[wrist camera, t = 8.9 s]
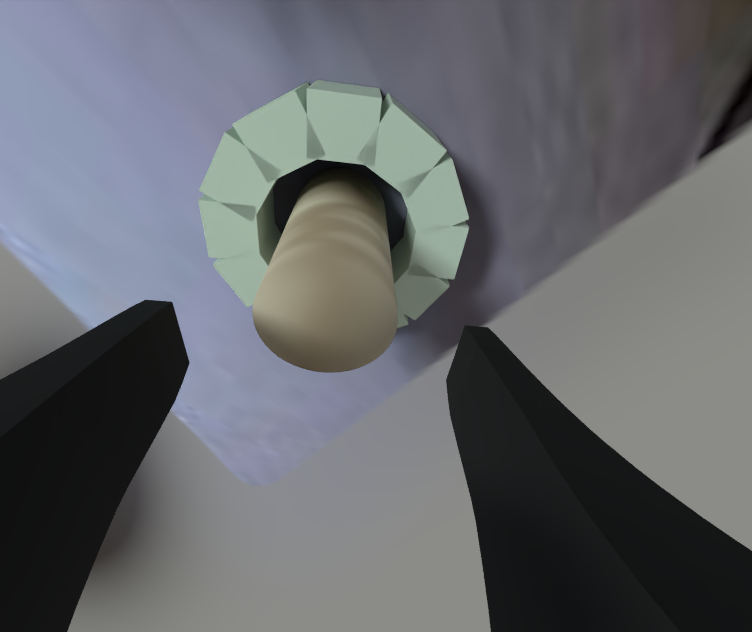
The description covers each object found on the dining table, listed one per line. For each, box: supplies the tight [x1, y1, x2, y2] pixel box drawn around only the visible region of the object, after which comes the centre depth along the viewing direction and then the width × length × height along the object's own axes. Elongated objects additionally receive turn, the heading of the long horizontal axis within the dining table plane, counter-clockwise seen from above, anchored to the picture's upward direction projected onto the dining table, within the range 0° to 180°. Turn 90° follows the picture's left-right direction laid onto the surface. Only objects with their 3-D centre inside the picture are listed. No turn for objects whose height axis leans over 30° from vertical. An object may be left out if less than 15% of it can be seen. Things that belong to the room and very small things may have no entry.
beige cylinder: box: [253, 168, 398, 372], centre depth 13 cm, size 4×4×8 cm
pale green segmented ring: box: [198, 80, 469, 328], centre depth 15 cm, size 10×10×3 cm
